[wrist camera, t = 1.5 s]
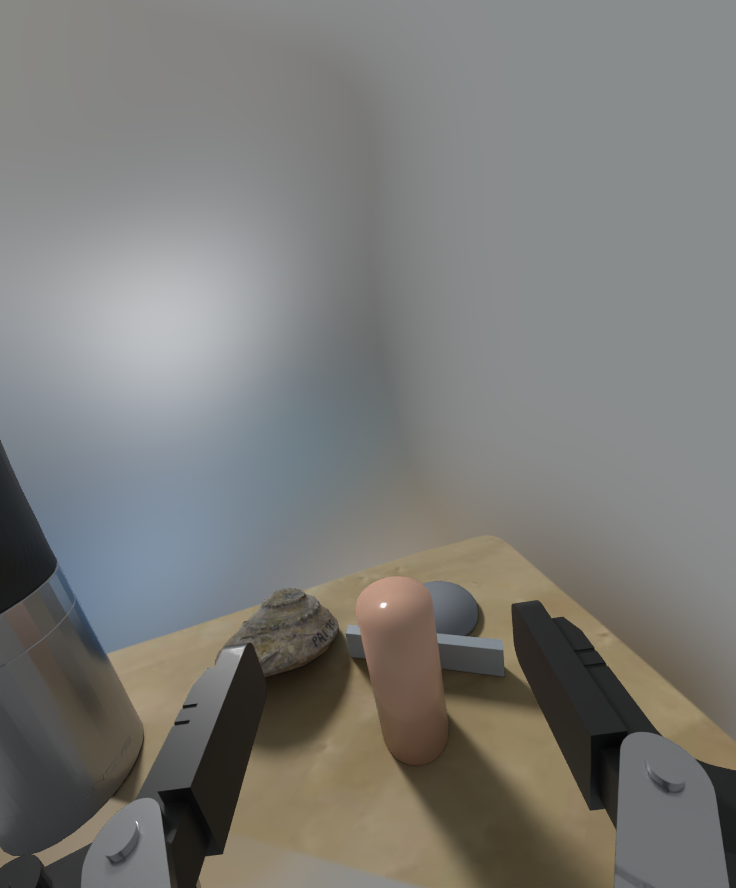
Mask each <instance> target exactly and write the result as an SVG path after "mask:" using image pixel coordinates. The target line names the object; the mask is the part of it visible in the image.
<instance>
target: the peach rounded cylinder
mask: <svg viewBox="0 0 736 888" xmlns="http://www.w3.org/2000/svg"><path fill="white" fill-rule="evenodd" d="M356 615H357V620H358V624H359V629H360V633H361V638H362V643H363V647H364V652H365V656H366V661H367V665H368V670H369V674H370V679H371V684H372V688H373V693H374V697H375V702H376V706H377V711H378V716H379V720H380V725H381V729H382V734H383V738H384V741H385V744H386V746H387V748H388V749H389V751H390V752H391V753H392V755H393V756H394V757H396V758H397V759H398V760H400V761H401V762H403V763H405V764H409V765H424V764H427V763H430V762H431V761H433V760H435V759H436V758H437V757H438V756H439V755H440V754H441V753H442V751H443V750H444V748H445V746H446V744H447V741H448V736H449V724H448V716H447V709H446V701H445V693H444V686H443V678H442V671H441V663H440V656H439V648H438V640H437V633H436V625H435V618H434V610H433V603H432V597H431V594H430V592H429V590H428V589H427V588H426V587H425V586H424V585H423V584H422V583H420V582H419V581H417V580H414V579H412V578H408V577H401V576H395V577H387V578H383V579H381V580H378V581H376V582H374V583H372V584H370V585H369V586H368V587H367V588H366V589H364V590H363V592H362V593H361V594H360V596H359V598H358V600H357V603H356Z"/></svg>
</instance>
